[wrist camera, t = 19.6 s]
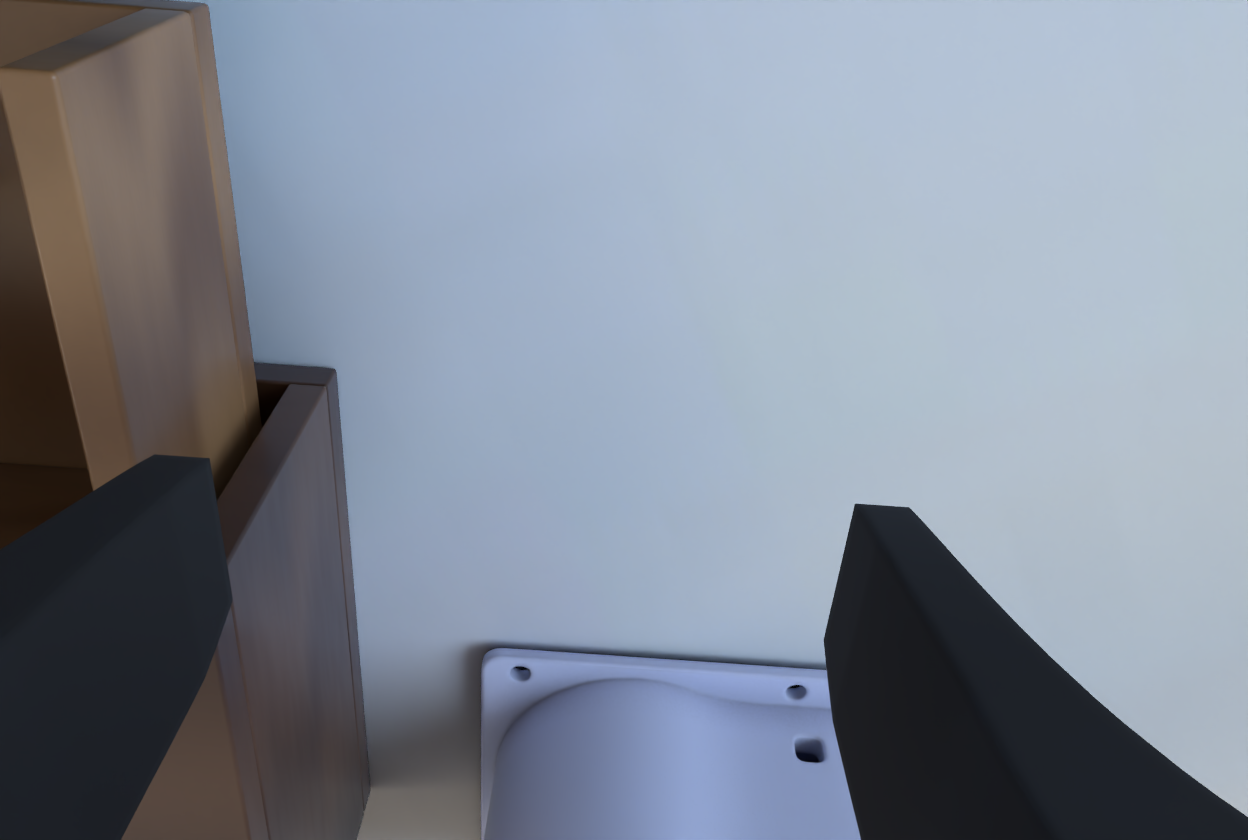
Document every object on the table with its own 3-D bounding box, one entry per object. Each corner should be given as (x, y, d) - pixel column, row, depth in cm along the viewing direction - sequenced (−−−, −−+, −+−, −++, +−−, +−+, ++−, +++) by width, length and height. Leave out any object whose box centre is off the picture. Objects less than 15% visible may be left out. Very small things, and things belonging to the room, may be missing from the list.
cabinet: (-299, 321, 22) (-695, 536, 16) (336, 367, 22) (207, 599, 16) (-113, 758, 29) (-333, 1033, 23) (371, 789, 29) (291, 1071, 23)
